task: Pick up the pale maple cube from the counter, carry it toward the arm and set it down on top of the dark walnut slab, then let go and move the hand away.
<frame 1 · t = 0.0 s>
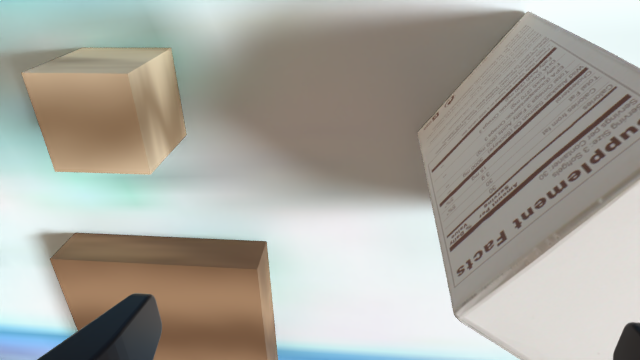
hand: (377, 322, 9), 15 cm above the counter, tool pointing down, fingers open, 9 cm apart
maple cube: (137, 92, 23), on the counter
supplement box: (520, 116, 22), on the counter
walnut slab: (187, 304, 31), on the counter
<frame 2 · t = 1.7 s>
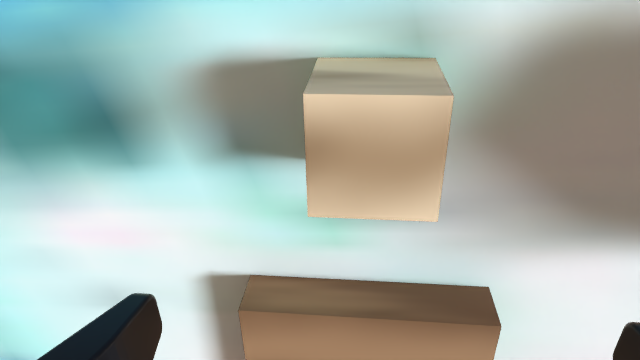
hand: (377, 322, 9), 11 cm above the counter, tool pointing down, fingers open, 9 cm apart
maple cube: (373, 112, 19), on the counter
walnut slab: (363, 354, 26), on the counter
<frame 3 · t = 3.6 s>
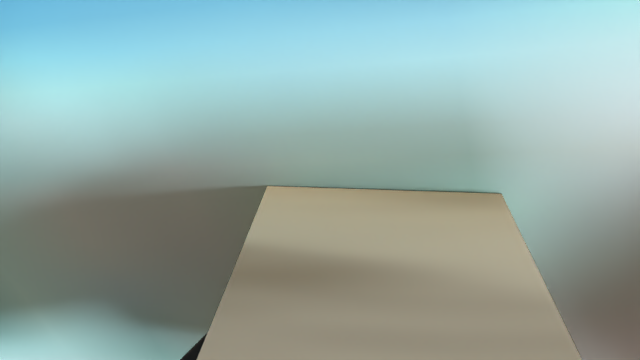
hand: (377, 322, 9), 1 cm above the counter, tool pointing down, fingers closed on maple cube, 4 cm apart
maple cube: (376, 278, 10), on the counter, touching gripper
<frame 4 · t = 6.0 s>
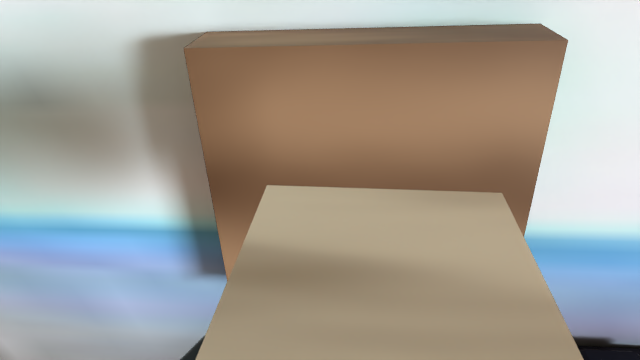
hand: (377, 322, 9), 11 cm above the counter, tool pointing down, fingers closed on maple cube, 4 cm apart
maple cube: (376, 278, 10), point 9 cm above the counter, touching gripper
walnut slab: (366, 167, 20), on the counter
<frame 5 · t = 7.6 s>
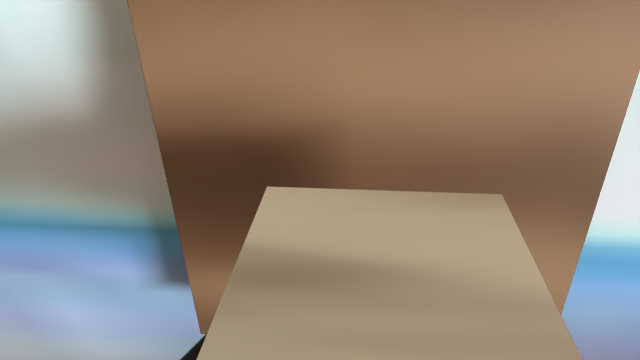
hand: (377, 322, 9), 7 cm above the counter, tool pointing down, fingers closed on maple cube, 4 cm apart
maple cube: (376, 279, 10), point 6 cm above the counter, touching gripper
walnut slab: (372, 150, 15), on the counter
when the fingers open (5 cm above the counter, at t = 8.7 s): maple cube drops 2 cm, resting on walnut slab.
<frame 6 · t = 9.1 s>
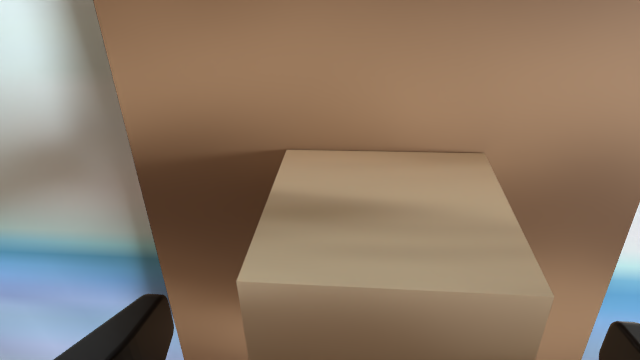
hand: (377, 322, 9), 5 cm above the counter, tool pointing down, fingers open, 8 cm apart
maple cube: (379, 231, 11), point 2 cm above the counter, touching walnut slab
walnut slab: (374, 173, 14), on the counter, touching maple cube
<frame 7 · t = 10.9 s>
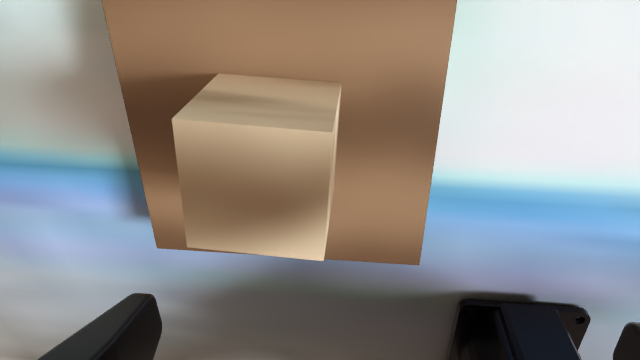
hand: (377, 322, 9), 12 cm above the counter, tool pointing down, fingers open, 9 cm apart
maple cube: (279, 135, 17), point 2 cm above the counter, touching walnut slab
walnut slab: (291, 107, 20), on the counter, touching maple cube
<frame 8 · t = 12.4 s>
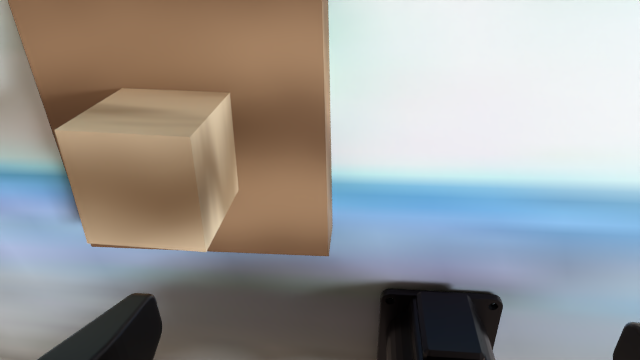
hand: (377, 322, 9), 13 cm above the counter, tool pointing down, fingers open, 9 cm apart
maple cube: (183, 141, 19), point 2 cm above the counter, touching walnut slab
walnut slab: (207, 113, 22), on the counter, touching maple cube
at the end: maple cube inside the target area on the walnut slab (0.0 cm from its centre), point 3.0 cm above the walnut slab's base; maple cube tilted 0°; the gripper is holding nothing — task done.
